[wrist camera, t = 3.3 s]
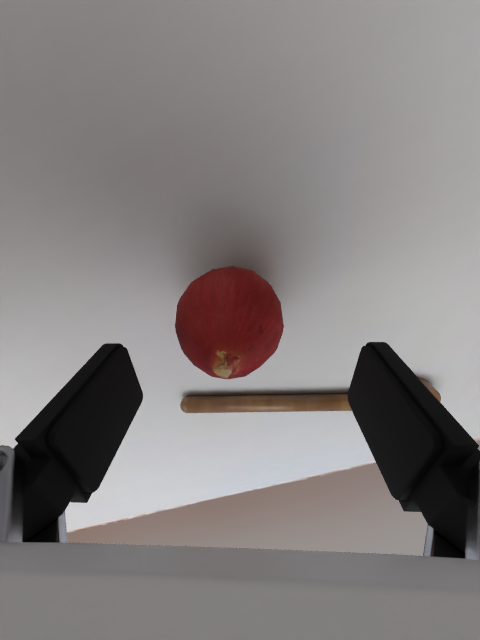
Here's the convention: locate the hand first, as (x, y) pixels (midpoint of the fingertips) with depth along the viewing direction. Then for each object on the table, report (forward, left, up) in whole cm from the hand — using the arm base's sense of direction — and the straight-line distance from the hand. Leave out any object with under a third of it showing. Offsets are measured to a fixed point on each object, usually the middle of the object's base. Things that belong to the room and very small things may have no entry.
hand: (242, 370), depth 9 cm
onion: (-1, 0, -8) cm, 8 cm away
